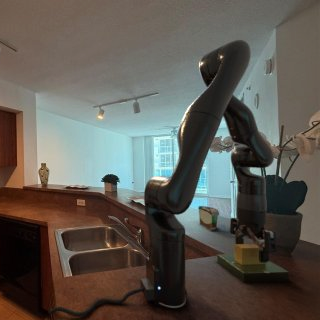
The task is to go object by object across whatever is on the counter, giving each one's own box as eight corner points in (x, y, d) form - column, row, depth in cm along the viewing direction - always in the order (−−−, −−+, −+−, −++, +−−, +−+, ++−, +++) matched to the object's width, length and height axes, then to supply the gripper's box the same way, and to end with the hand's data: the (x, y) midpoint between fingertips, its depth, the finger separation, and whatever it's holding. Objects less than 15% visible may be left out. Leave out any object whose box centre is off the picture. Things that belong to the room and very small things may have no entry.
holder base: (245, 284, 58) (245, 273, 58) (216, 261, 70) (216, 253, 70) (290, 282, 58) (291, 272, 58) (253, 260, 71) (253, 252, 70)
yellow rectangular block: (242, 264, 63) (242, 247, 63) (234, 260, 66) (234, 243, 65) (265, 264, 63) (266, 246, 63) (257, 259, 66) (258, 242, 66)
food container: (225, 232, 96) (225, 212, 96) (212, 232, 97) (212, 212, 96) (209, 223, 109) (209, 205, 108) (198, 223, 109) (198, 205, 109)
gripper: (223, 201, 71) (223, 245, 71) (260, 213, 56) (260, 268, 57) (243, 201, 71) (243, 244, 71) (285, 212, 57) (285, 267, 57)
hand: (250, 254), depth 64 cm, fingers open, 8 cm apart
